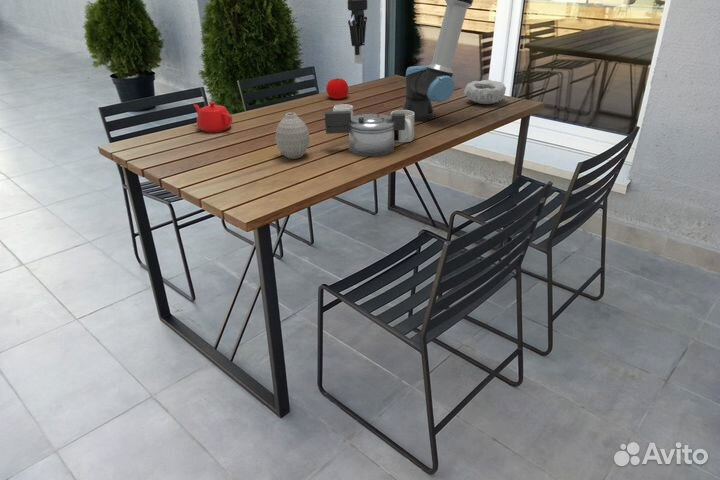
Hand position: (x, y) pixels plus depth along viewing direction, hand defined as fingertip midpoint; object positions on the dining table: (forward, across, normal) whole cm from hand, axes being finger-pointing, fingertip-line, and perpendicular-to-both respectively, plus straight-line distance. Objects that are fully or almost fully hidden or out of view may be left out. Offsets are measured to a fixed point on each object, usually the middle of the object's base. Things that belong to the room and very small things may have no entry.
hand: (358, 63), depth 218 cm
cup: (+31, -8, -13) cm, 34 cm away
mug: (+31, -2, +18) cm, 36 cm away
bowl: (+31, -72, +37) cm, 87 cm away
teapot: (+31, +13, -66) cm, 74 cm away
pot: (+30, +14, +8) cm, 34 cm away
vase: (+31, +31, -14) cm, 46 cm away
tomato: (+31, -56, -38) cm, 74 cm away
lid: (+20, +13, +8) cm, 26 cm away
